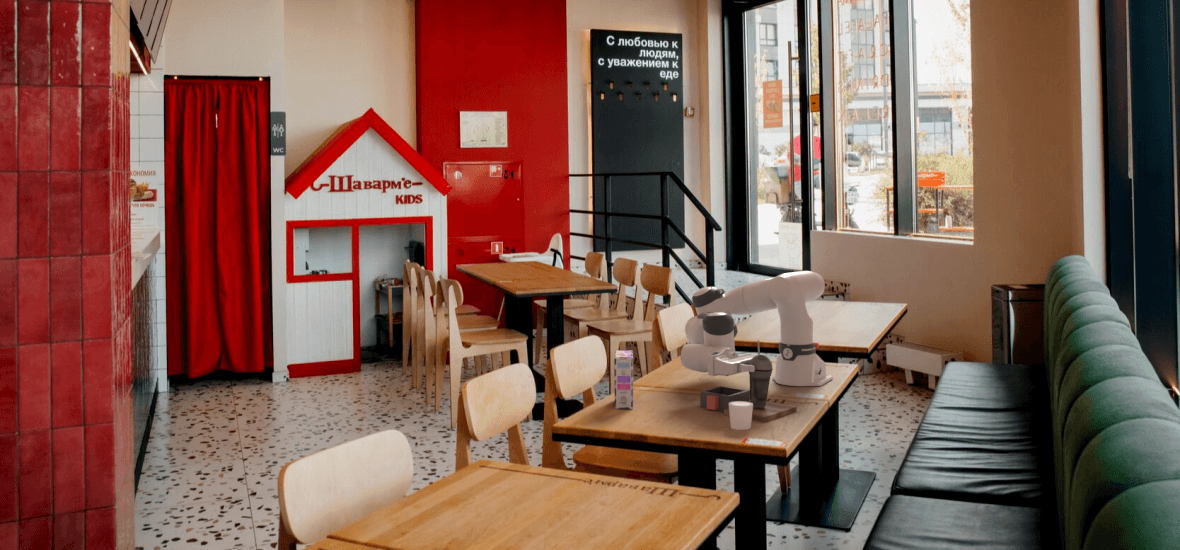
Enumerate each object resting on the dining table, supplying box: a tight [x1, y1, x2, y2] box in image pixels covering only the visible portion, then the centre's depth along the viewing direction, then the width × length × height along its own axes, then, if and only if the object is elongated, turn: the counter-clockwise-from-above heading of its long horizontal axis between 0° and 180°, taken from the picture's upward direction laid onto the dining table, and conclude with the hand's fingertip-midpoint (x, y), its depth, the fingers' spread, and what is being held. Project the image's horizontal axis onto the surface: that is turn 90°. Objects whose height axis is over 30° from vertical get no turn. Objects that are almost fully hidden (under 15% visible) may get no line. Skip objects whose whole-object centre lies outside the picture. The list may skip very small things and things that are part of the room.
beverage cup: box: [748, 339, 773, 408], centre depth 273 cm, size 7×7×20 cm
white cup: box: [729, 401, 753, 431], centre depth 257 cm, size 7×7×7 cm
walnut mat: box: [723, 401, 798, 423], centre depth 274 cm, size 18×14×2 cm
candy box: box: [613, 350, 634, 410], centre depth 287 cm, size 14×6×16 cm, turn 176°
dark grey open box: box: [699, 385, 750, 412], centre depth 282 cm, size 13×11×5 cm
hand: (763, 366), depth 272 cm, fingers closed on beverage cup, 7 cm apart
